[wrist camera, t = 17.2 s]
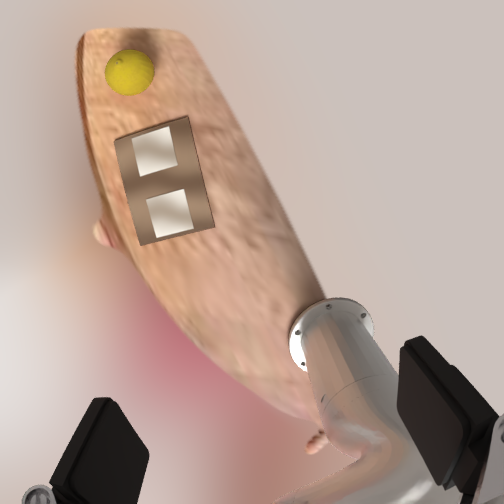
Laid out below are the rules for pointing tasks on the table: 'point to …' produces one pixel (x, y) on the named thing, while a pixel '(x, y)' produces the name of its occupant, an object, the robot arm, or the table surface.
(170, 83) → the table surface
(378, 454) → the robot arm
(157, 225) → the label board
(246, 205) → the table surface
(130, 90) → the lemon
